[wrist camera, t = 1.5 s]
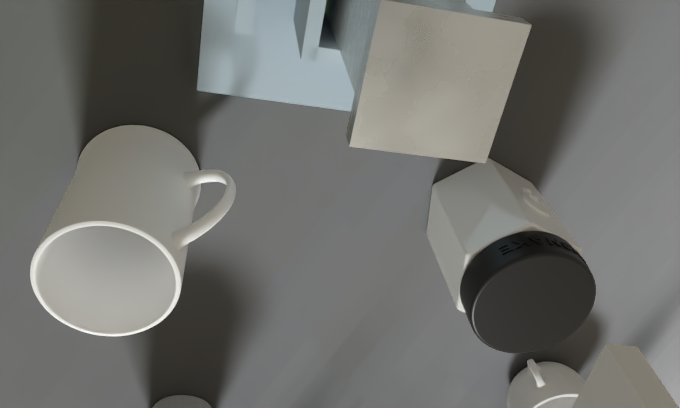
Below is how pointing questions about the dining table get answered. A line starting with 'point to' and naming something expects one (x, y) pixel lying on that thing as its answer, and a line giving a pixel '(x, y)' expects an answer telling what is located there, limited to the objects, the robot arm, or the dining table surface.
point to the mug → (124, 232)
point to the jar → (508, 259)
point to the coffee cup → (181, 402)
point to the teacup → (544, 386)
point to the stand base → (276, 52)
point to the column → (426, 74)
